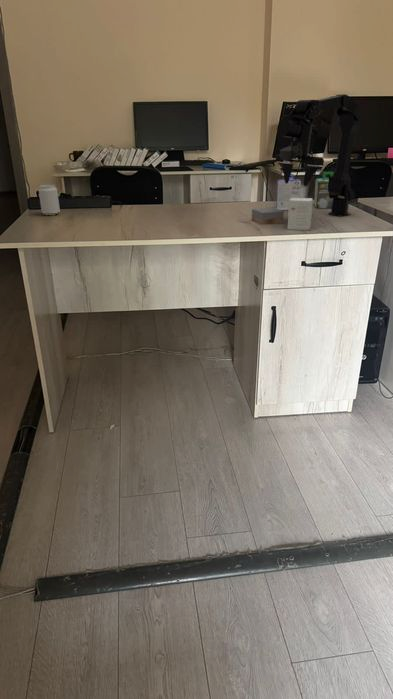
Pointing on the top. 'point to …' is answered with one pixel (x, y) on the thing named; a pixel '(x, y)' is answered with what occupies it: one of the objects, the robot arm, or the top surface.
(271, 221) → the lower block
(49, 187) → the can
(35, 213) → the top surface
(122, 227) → the top surface
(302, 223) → the small box
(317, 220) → the top surface
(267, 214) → the upper block
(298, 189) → the ink cartridge box
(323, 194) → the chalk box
